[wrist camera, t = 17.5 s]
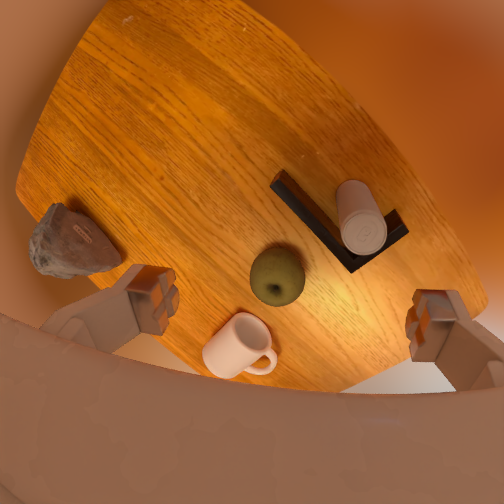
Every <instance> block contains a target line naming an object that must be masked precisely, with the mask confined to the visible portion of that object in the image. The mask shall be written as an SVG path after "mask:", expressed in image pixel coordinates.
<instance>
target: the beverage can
mask: <svg viewBox="0 0 504 504" xmlns="http://www.w3.org/2000/svg"><path fill="white" fill-rule="evenodd" d="M336 203H337V209H338V216H339V224H340V232H341V238H342V240H343V242H344V244H345V246H346V247H347V248H348V249H349V250H350V251H351V252H353V253H355V254H358V255H369V254H372V253H375V252H376V251H378V250H379V249H380V248H381V247H382V246H383V245H384V243H385V241H386V237H387V226H386V223H385V220H384V218H383V216H382V214H381V212H380V210H379V208H378V206H377V204H376V202H375V200H374V198H373V196H372V194H371V192H370V190H369V188H368V187H367V186H366V185H365V184H364V183H363V182H360V181H357V180H349V181H346V182H344V183H343V184H341V185H340V187H339V188H338V190H337V193H336Z"/></svg>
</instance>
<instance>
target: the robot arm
mask: <svg viewBox="0 0 504 504" xmlns="http://www.w3.org/2000/svg"><path fill="white" fill-rule="evenodd" d="M175 280H176V276H175V271H174V270H173V269H172V268H166V267H159V266H151V265H144V264H133V265H132V266H131V267H130V268H129V269H128V270H127V271H126V272H125V273H124V274H123V276H122V277H121V278H120V279H119V280H118V281H117V282H116V283H115V284H114V285H113V287H112V288H109V287H108V288H105V289H103V290H101V291H98V292H96V293H94V294H92V295H89V296H87V297H85V298H83V299H80V300H78V301H76V302H74V303H71V304H69V305H67V306H65V307H62V308H60V309H58V310H56V311H55V312H54V313H53V314H52V315H51V316H50V317H49V318H48V319H47V320H46V322H45V323H44V324H43V325H42V326H41V327H40V328H39V329H37V328H35V327H32V326H29V325H27V324H25V323H22V322H20V321H18V320H15V319H13V318H10V317H8V316H6V315H4V314H2V313H0V504H504V343H503V342H502V341H501V340H500V339H498V338H497V337H496V336H495V335H493V334H492V333H491V332H489V331H488V330H487V329H486V328H484V327H483V326H482V325H481V324H479V323H478V322H477V321H472V319H471V317H470V315H469V313H468V311H467V309H466V307H465V305H464V303H463V301H462V299H461V297H460V295H459V293H458V291H456V290H429V289H416V291H415V292H414V295H413V298H412V300H413V304H414V306H412V307H411V308H410V309H409V310H408V313H407V317H406V323H405V331H406V336H407V338H408V339H409V340H410V341H411V343H410V345H409V349H410V354H411V358H412V361H413V362H435V365H436V366H437V367H438V368H439V369H440V371H441V372H442V373H443V374H444V376H445V377H446V378H447V379H448V381H449V382H450V383H451V384H452V386H453V387H454V388H455V389H456V391H455V392H442V393H421V394H356V393H337V392H322V391H309V390H298V389H288V388H279V387H271V386H263V385H255V384H248V383H241V382H235V381H229V380H223V379H217V378H212V377H206V376H201V375H196V374H191V373H186V372H181V371H177V370H172V369H167V368H163V367H159V366H155V365H151V364H147V363H143V362H139V361H136V360H132V359H128V358H124V357H121V356H117V355H114V354H111V353H112V352H114V351H116V350H117V349H119V348H120V347H121V346H123V345H124V344H126V343H127V342H129V341H130V340H132V339H133V338H135V337H136V336H137V335H139V334H140V332H143V333H148V334H153V335H159V336H162V335H163V333H164V332H165V330H166V328H167V327H168V325H169V319H168V318H170V317H171V316H173V315H175V313H176V311H177V309H178V305H179V291H178V288H177V287H176V286H175V285H174V284H173V283H174V282H175Z"/></svg>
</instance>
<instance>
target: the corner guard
mask: <svg viewBox="0 0 504 504" xmlns="http://www.w3.org/2000/svg"><path fill="white" fill-rule="evenodd" d="M270 188H271V189H272V190H273V191H274V192H275V193H276V194H277V195H278V196H279V197H280V198H281V199H282V200H283V201H284V202H285V203H286V204H287V205H288V206H289V207H290V208H291V209H292V210H293V211H294V212H295V213H296V215H297V216H298V217H299V218H300V219H301V220H302V221H303V222H304V223H305V224H306V225H307V226H308V227H309V228H310V229H311V230H312V231H313V233H314V234H315V235H316V236H317V237H318V238H319V239H320V240H321V241H322V242H323V243H324V244H325V245H326V247H327V248H328V249H329V250H330V251H331V252H332V253H333V254H334V255H335V256H336V257H337V259H338V260H339V261H340V262H341V263H342V264H343V265H344V266H345V267H346V269H347V270H348V271H349V272H350V273H351V274H352V273H353V272H355V271H356V270H358V269H359V268H360V267H362V266H363V265H365V264H366V263H367V262H369V261H370V260H372V259H373V258H375V257H376V256H377V255H379V254H380V253H382V252H383V251H384V250H386V249H387V248H388V247H390V246H391V245H393V244H394V243H395V242H397V241H398V240H399V239H401V238H402V237H403V236H405V235H406V234H407V233H409V230H408V228H407V227H406V225H405V223H404V222H403V220H402V218H401V217H400V215H399V214H398V212H397V211H396V210H395V209H394V210H393V211H392V212H390V213H389V214H388V215H387V216H385V217H384V220H385V223H386V226H387V237H386V241H385V243H384V245H383V246H382V247H381V248H380V249H379V250H378V251H376V252H375V253H372V254H369V255H358V254H355V253H353V252H351V251H350V250H349V249H348V248H347V247H346V246H345V244H344V242H343V240H342V238H341V232H340V230H339V229H338V228H337V226H336V225H335V224H334V223H333V222H332V221H331V220H330V219H329V217H328V216H327V215H326V214H325V213H324V212H323V211H322V210H321V209H320V208H319V206H318V205H317V204H316V203H315V202H314V201H313V200H312V199H311V198H310V197H309V196H308V195H307V193H306V192H305V191H304V190H303V189H302V188H301V187H300V186H299V185H298V184H297V183H296V182H295V181H294V180H293V179H292V178H291V177H290V176H289V175H288V173H287V172H286V171H285V170H284V169H282V170H281V171H280V172H279V173H278V174H277V175H276V176H275V177H274V179H273V181H272V183H271V185H270Z"/></svg>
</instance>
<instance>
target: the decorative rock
mask: <svg viewBox="0 0 504 504" xmlns="http://www.w3.org/2000/svg"><path fill="white" fill-rule="evenodd" d="M29 257H30V259H31V261H32V263H33V266H34V267H35V268H36V269H37V270H38V271H39V272H40V273H41V274H43V275H53V276H54V277H59V278H64V279H69V278H70V279H71V278H73V277H75V276H76V275H85V276H88V275H92V274H93V273H97V272H105V271H109V270H111V269H112V268H114V267H117V266H119V265H120V264H122V258H121V256H120V254H119V252H118V251H117V250H116V249H115V247H114V246H113V245H112V244H111V242H110V240H109V239H108V238H107V236H106V235H105V234H104V233H103V232H102V230H101V229H99V228H98V227H97V225H96V224H95V223H94V222H93V221H92V220H91V219H90V218H88V217H87V216H84V215H83V214H81V213H80V212H78V211H77V210H76V212H75V213H74V212H71V211H70V210H69V209H68V208H67V207H66V206H64V204H62V203H56V204H54V203H53V204H52V205H51V206H50V207H49V209H48V210H47V213H46V214H45V216H44V217H43V218H41V220H40V222H39V223H38V225H37V226H36V227H35V229H34V233H33V235H32V236H31V237H30V239H29Z"/></svg>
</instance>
